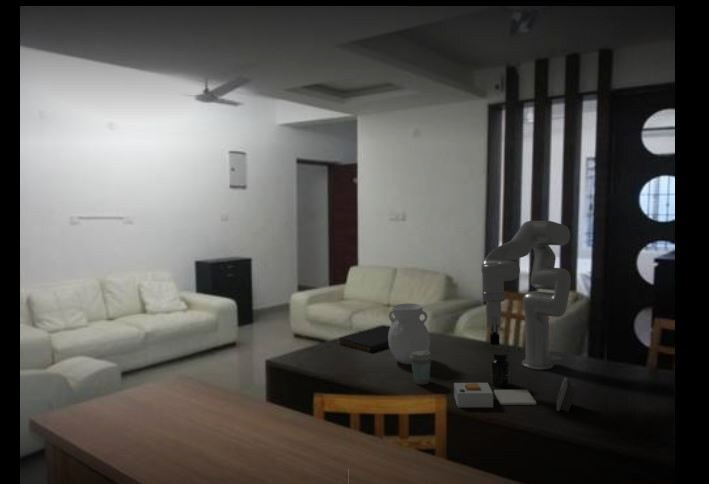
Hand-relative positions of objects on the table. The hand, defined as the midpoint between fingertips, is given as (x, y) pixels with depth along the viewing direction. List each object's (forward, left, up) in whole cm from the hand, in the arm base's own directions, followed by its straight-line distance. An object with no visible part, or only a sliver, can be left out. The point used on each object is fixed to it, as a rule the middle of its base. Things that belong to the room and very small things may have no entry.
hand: (495, 344), depth 191 cm
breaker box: (+11, +14, -17) cm, 24 cm away
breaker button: (+11, +14, -15) cm, 23 cm away
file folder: (+46, -66, -18) cm, 82 cm away
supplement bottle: (-2, -3, -17) cm, 17 cm away
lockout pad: (-4, +11, -17) cm, 20 cm away
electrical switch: (-19, +19, -17) cm, 32 cm away
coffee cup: (+28, -6, -17) cm, 33 cm away
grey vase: (+32, -32, -17) cm, 48 cm away
